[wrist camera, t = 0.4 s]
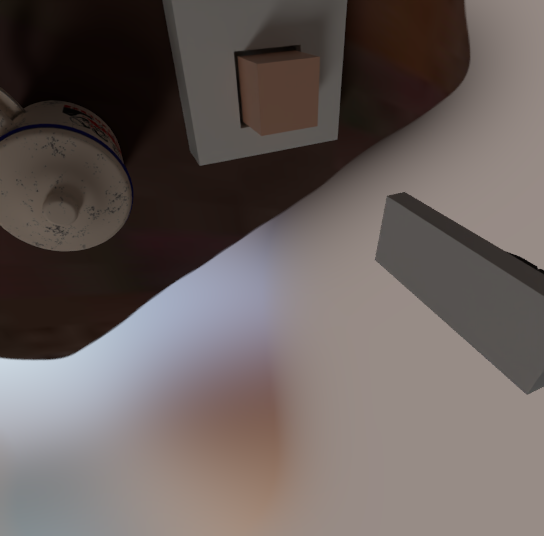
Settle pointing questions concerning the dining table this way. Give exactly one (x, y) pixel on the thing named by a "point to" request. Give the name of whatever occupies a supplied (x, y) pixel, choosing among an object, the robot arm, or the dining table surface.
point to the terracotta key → (279, 91)
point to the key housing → (225, 72)
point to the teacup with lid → (60, 176)
